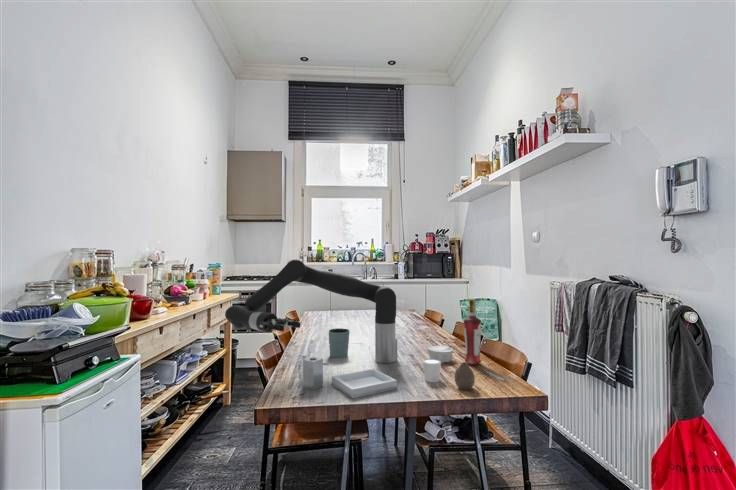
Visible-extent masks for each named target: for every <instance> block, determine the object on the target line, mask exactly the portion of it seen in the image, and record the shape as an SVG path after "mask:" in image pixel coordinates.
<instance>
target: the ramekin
mask: <svg viewBox="0 0 736 490" xmlns="http://www.w3.org/2000/svg"><path fill="white" fill-rule="evenodd" d="M427 351H428V356H429V359H435V360H439V361H441V364H445V363H444V362H447V363H449V362H451V361H452V356H453V353H454V350H453V348H452V347H450V346H447V345H446V346H445V345H432V346H428V348H427Z"/></svg>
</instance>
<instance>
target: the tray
mask: <svg viewBox="0 0 736 490" xmlns="http://www.w3.org/2000/svg"><path fill="white" fill-rule="evenodd" d="M331 385H332V386H333V387H335V388H336V389H338V390H339V391H341V392H342V393H343V394H345V395H347V397H350V399H356V398H357V399H358V398H361V397H365V396H369V395H374V394H379V393H383V392H388V391H392V390H397V389H398V379H395V378H393V377H391V376H390V375H387V374H385V373H383V372H381V371H379V370H377V369H375V368H370V369H364V370H359V371H353V372H347V373H342V374H341V373H340V374H337V375H333V376H331Z"/></svg>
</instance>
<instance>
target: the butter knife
mask: <svg viewBox="0 0 736 490" xmlns="http://www.w3.org/2000/svg"><path fill="white" fill-rule="evenodd" d="M483 370H484V371H486V372H487V374H488V373H489V374H488V375H490V376H491V377H493V376H494V377H493V378H496V379H498V380H500V381H505V378H503V377H502V376H499V375H498V374H497V375H496V374H495V373H492V372H489V371H487V370H485V369H483ZM484 371H483V372H484ZM486 372H485V373H486Z"/></svg>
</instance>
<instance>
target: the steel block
mask: <svg viewBox="0 0 736 490" xmlns="http://www.w3.org/2000/svg"><path fill="white" fill-rule="evenodd" d="M302 365H303V366H302V388H303V389H306V390H309V391H316V390H318V389H321V388H323V386H324V367H323V366H324V358H322V357H321V358H320V357H316V356H310V357H307V358H305V359H303V360H302Z"/></svg>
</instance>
